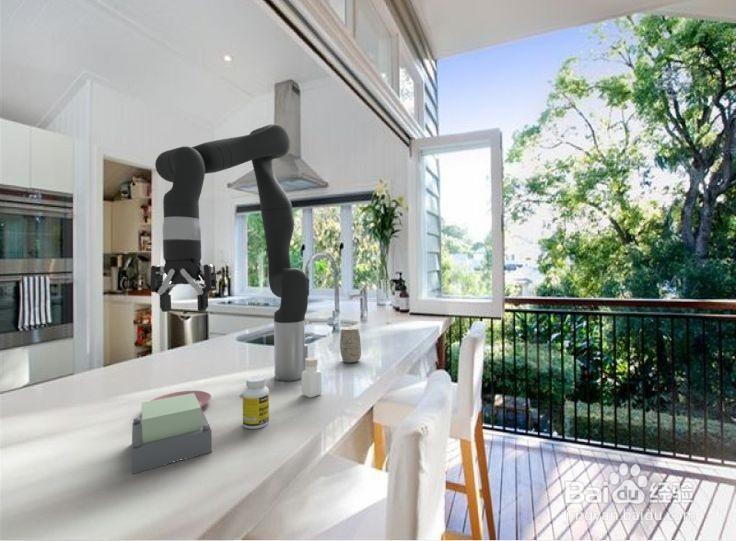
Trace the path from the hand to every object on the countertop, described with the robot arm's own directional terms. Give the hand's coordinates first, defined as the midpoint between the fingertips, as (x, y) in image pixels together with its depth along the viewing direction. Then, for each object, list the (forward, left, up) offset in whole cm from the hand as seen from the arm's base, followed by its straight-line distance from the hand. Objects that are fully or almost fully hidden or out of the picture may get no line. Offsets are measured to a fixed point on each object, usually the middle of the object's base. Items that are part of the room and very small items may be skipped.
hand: (184, 311), depth 78 cm
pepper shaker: (-29, +4, -24) cm, 38 cm away
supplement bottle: (-12, +13, -24) cm, 30 cm away
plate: (+1, -6, -24) cm, 25 cm away
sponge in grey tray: (+4, +14, -24) cm, 28 cm away
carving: (-54, -18, -24) cm, 62 cm away
